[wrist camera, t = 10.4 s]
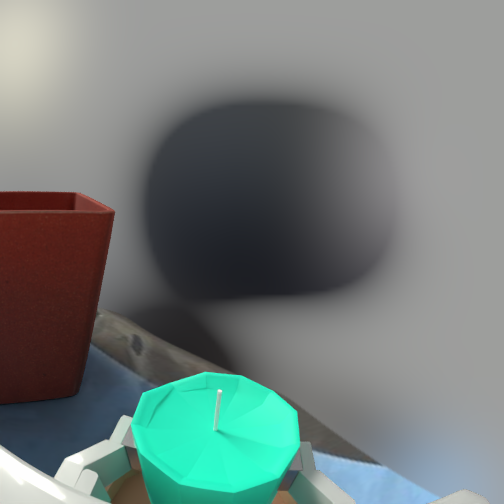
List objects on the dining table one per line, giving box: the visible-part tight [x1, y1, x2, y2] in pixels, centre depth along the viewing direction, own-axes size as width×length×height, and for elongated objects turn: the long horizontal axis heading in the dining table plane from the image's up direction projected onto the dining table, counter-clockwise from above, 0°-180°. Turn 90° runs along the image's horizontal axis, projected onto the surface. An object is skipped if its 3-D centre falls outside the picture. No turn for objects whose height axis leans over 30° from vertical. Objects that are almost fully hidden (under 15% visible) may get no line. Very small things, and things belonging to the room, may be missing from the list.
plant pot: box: [0, 191, 115, 404], centre depth 18 cm, size 19×19×17 cm
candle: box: [131, 372, 300, 504], centre depth 9 cm, size 6×6×12 cm
